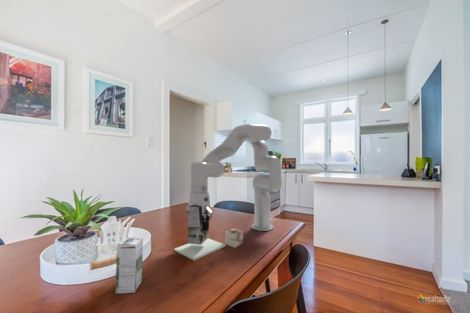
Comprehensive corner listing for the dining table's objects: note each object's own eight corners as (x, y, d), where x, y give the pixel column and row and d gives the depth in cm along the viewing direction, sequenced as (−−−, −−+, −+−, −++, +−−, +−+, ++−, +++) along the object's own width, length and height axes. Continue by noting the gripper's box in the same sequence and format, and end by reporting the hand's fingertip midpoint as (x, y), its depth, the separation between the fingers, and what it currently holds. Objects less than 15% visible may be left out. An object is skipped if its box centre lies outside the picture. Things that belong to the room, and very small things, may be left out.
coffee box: (201, 245, 87) (201, 206, 87) (187, 243, 88) (187, 206, 89) (209, 237, 95) (209, 202, 96) (196, 236, 97) (196, 202, 97)
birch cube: (233, 240, 102) (233, 228, 102) (243, 243, 98) (243, 230, 98) (225, 244, 97) (225, 231, 98) (234, 247, 93) (234, 234, 94)
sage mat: (205, 238, 104) (205, 237, 104) (225, 246, 95) (225, 244, 95) (174, 250, 90) (174, 248, 90) (193, 260, 81) (193, 258, 81)
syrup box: (123, 282, 66) (124, 237, 66) (142, 282, 67) (143, 236, 67) (115, 294, 60) (115, 244, 61) (135, 293, 61) (136, 243, 61)
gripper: (218, 190, 89) (218, 230, 89) (193, 187, 101) (193, 222, 100) (205, 192, 84) (205, 234, 83) (180, 188, 95) (180, 226, 95)
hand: (198, 227), depth 92 cm, fingers closed on coffee box, 8 cm apart
